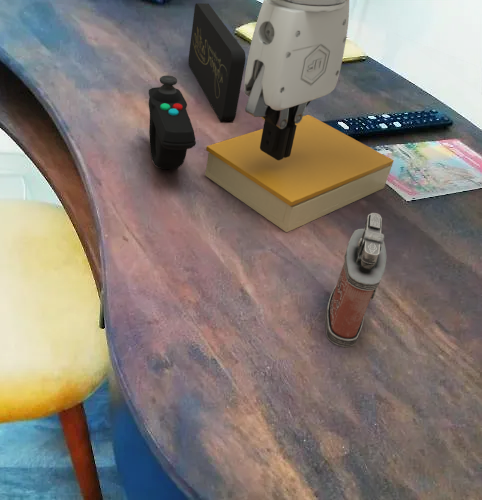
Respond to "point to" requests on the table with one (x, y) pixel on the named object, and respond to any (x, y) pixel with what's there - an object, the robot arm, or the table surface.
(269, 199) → the square lidded box
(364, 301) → the lighter
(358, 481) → the table surface
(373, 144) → the table surface
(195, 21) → the nameplate
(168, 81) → the controller
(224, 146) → the cover
